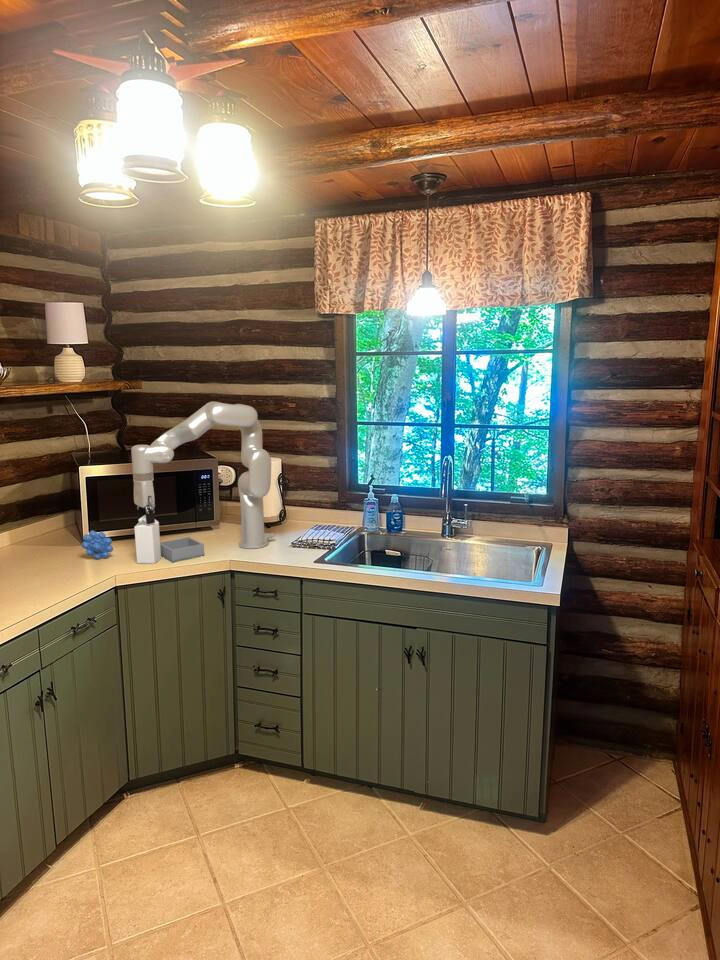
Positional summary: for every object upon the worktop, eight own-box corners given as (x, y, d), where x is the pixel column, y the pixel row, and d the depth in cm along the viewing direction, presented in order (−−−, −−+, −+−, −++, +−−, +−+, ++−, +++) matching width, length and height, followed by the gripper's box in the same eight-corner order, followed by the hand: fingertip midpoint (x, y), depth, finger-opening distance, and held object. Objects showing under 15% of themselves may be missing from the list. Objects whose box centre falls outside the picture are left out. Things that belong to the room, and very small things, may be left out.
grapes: (82, 563, 270) (79, 534, 268) (83, 558, 277) (80, 530, 274) (113, 560, 274) (111, 531, 272) (114, 556, 280) (111, 527, 278)
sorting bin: (189, 548, 290) (188, 537, 289) (204, 555, 279) (203, 544, 278) (158, 554, 281) (157, 543, 280) (172, 562, 271) (171, 550, 270)
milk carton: (161, 558, 276) (158, 512, 272) (154, 564, 269) (151, 516, 266) (144, 558, 277) (140, 512, 273) (136, 563, 270) (133, 516, 266)
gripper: (125, 474, 271) (128, 518, 274) (142, 481, 258) (145, 527, 261) (144, 472, 275) (147, 515, 279) (161, 478, 262) (164, 523, 266)
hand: (146, 520), depth 270 cm, fingers closed on milk carton, 7 cm apart
